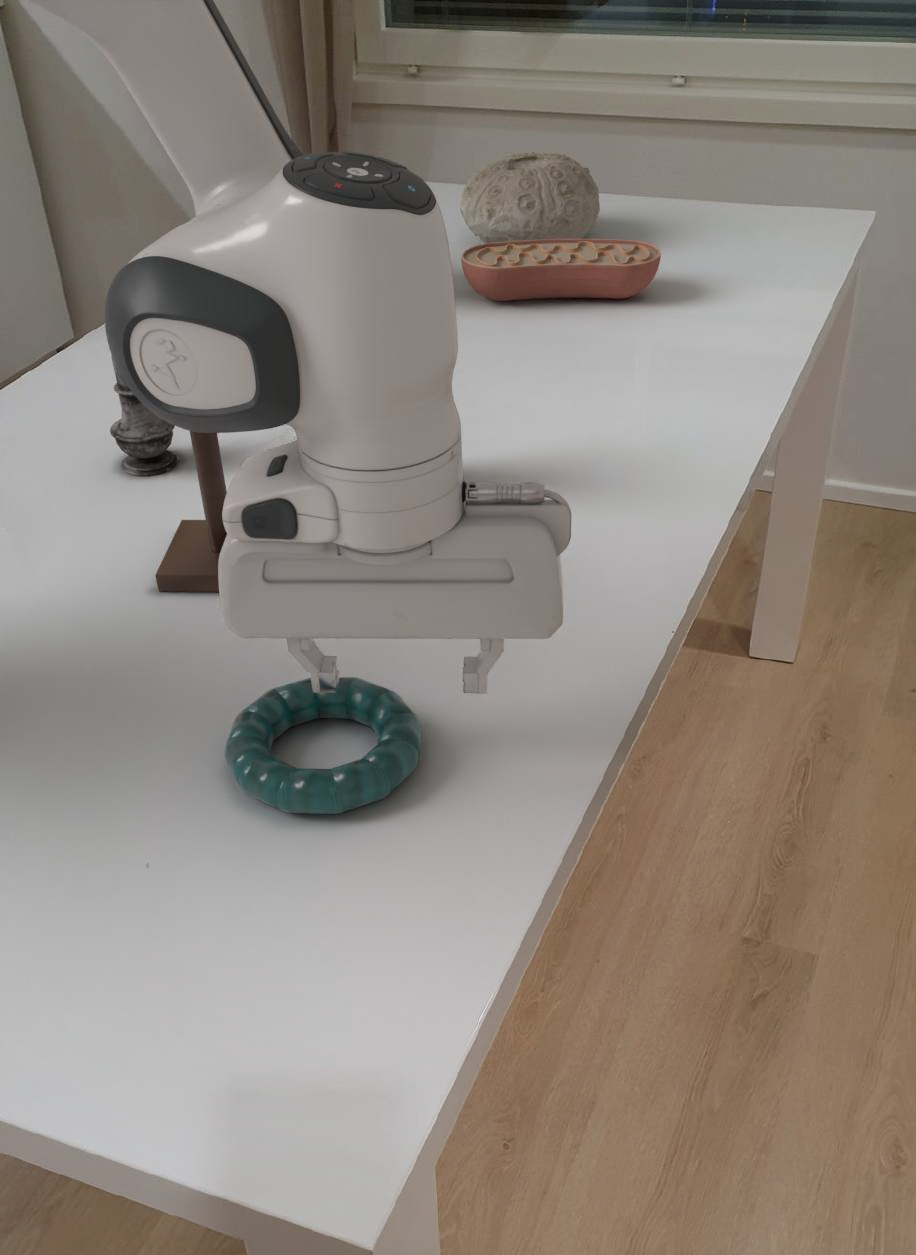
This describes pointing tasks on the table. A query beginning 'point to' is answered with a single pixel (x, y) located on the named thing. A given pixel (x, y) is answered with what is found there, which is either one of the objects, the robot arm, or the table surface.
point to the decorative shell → (531, 199)
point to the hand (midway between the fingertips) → (400, 688)
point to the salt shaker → (141, 435)
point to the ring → (323, 786)
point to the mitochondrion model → (560, 268)
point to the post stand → (198, 528)
